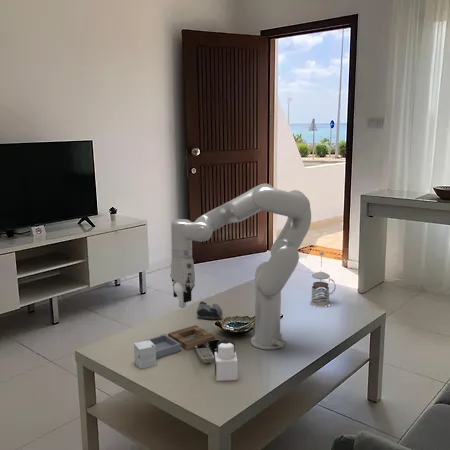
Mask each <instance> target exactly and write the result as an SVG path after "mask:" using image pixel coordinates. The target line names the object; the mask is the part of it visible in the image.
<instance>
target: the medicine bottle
mask: <svg viewBox="0 0 450 450" xmlns="http://www.w3.org/2000/svg"><path fill="white" fill-rule="evenodd" d="M238 365H239V364H238V357H237V353H236V343H235V342H234V341H233V340H230V339H222V340H219V341H217V343H216V351H214V375H215V381H216V382H222V381H225V382H226V381H237V380H238V379H239V377H238V375H239V374H238V373H239V372H238V371H239V369H238V367H239V366H238Z"/></svg>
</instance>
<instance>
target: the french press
mask: <svg viewBox="0 0 450 450" xmlns="http://www.w3.org/2000/svg"><path fill="white" fill-rule="evenodd" d="M319 255H320V258H321V261H320V263H321V264H320V266H322V262H323V261H322V259H323V257H322V256H323V255H325V254H324V251H320V252H319ZM311 277H312V278H314V279H316V280H320V281H315V282H313V283H312V286H311V301H309V303H310V304H309V305H310V306H311V305H312V306H311V307H313V306H316V307H315V308H317V307H325V306H328V305H329V304H331V303H330V296H331V295H332V294H334V293H335V291H336V284H335V281H334V280H333V279H332V278H331V276H330V274H328V273H326V272H324V271H323V272H322V271H317V272H314V273H312V274H311ZM326 279H327V280H328V283H327V282H324V281H322V280H326ZM330 281H332V283H333V284H334V287H333V288H334V289H333V290H332V292H330V291H329V290H330V287H329V283H330Z"/></svg>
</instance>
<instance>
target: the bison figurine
mask: <svg viewBox="0 0 450 450" xmlns="http://www.w3.org/2000/svg"><path fill="white" fill-rule="evenodd" d="M196 315H197V317H198V318H200V319H207V320H217V319H220V318H222V317H223V309H222V307H221V306H220V305H219V304H217V303H212V306H211V305H210V304H207V302H205V301H203V300H202V301H200V302H199V304H198V307H197V309H196Z"/></svg>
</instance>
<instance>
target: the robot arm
mask: <svg viewBox="0 0 450 450" xmlns="http://www.w3.org/2000/svg"><path fill="white" fill-rule="evenodd" d="M311 209H312V208H311V203H310V199H309V198H308V197H307V196H306V194H304V193H303V192H302V191H300V190H297V189H295V190H290V191H286V190H281V189H278V188H275V187H273V186H272V185H271V184H269V183H261V184H259V185H256V186H254V187H253V188H251V189H249V190H248V191H245V192H244V193H242V194H240V195H238V196H236V197H235V198H233V199H231V200H230V201H227V202H224V203H223V204H222V205H219V206H218V207H214V208H213V209H211V210H209V211H207V212H206V213H204V214H202V215H201V216H199V217H198V218H196V219H195V221H191V220H189V219H184V218H177V219H174V220H173V221H172V222H171V224H170V225H171V226H170V229H171V230H170V231H171V233H170V234H171V238H170V239H171V264H170V273H169V275H170V278H171V282H172V287H173V297H174V298H178V296H177V295H176V293H175V291H174V285H175V283H176V282H179V283H181V284H183V287H184V291H185V292H183V301H184V302H186V303H188V302H192V292H193V289H194V287H195V286H196V284H195V281H196V278H195V277H196V275H195V272H196V271H195V264H194V263H195V262H194V258H193V241H195V242H200V243H201V242H206V241H207V242H208V241H209V240H210V239H211V238H212V236H213V235H212V234H213V233H214V231H216V230H218V229H220V228H222V227H224V226H226V225H228V224H229V225H230V224H232V223H233V224H234V223H240V222H242V221H243V222H244V221H245V220H247V219H248V218H250V217H252V216H254V215H255V214H257V213H259V212H261V211H264V212H268V213H271V214H274V215H278V216H279V215H280V216H284V217H287V220H286V222H285V224H284V225H283V227H282V230H281V231H280V233H279V234H278V236H277V238H276V240H274V242H273V244H272V246H271V248H270V258H269V260H268V261H264V262H262V263H260V264H259V265H258V266H257V267H256V270H255V274H254V280H255V281H254V283H255V287H254V289H255V290H254V291H255V301H254V302H255V305H254V306H255V307H254V309H255V311H254V313H255V316H254V317H255V319H254V322H255V323H254V332H255V333H254V335H253V336H252V337H251V338H250V343H251V345H252V346H254V348H257V349H261V350H267V351H268V350H271V351H272V350H276V349H280V348H284V346H285V345H286V343H287V340H286V339H284V338H283V333H281V304H282V290H283V288H284V287H285V285H286V284H287V283H288V281H289V280H290V278H291V276H292V274H293V273H294V272H295V269H296V268H297V266H298V263H299V260H300V254H299V253H300V252H299V248H300V247H301V245H302V243H303V242H304V240H305V238H306V235H308V232H309V230H310V228H311V222H312V210H311ZM186 282H188V283H186ZM186 285H188V287H187V288H186Z"/></svg>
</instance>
